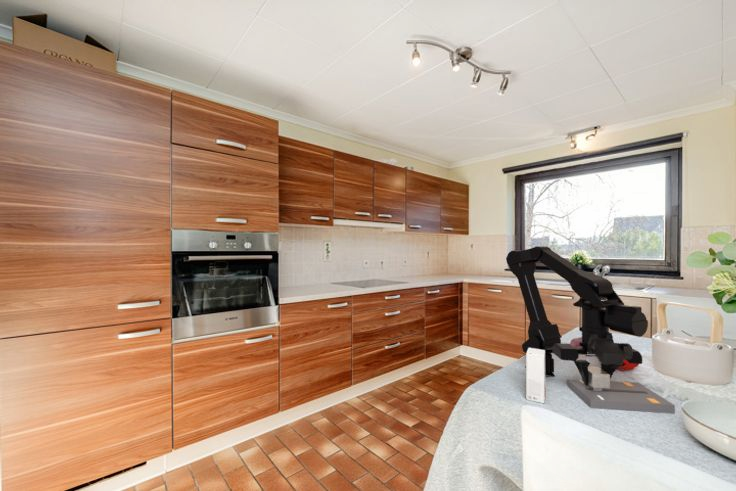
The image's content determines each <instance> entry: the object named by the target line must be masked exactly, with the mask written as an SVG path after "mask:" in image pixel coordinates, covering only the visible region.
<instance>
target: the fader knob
mask: <svg viewBox="0 0 736 491" xmlns="http://www.w3.org/2000/svg"><path fill="white" fill-rule="evenodd" d="M588 378H589V383H588V384H589V387H590V388H591V389H592V390H593V391H602V388H610V381H611V379H610V374H608V373H607V372H605V371H604V370H602V369H601V367H600V366H592V365H591V366H590V365H589V366H588Z"/></svg>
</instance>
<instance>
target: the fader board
mask: <svg viewBox="0 0 736 491" xmlns="http://www.w3.org/2000/svg"><path fill="white" fill-rule="evenodd" d="M566 386H567V387H568V388H569V389H570V391H572V392H573V393H574V394H575V395H576V396H577V397H579V399H580V400H582V402H584V404H586V405H587V406H588V407H589V408H590V409H600V410H601V409H603V410H615V411H616V410H617V411H627V412H628V411H630V412H644V413H646V412H647V413H660V414H661V413H662V414H673V415H674V414H675V412H676V410H675V409H676V406H675V404H673V403H672V402H670V401H669V400H667V399H665V398H664V397H663V396H661V395H659V394H658V393H656V392H654V391H653V390H652V389H650V388H649V387H647V386H645V385H643V384H642V383H639V382H632V381H616V380H615V381H612V380H610V388H602V391H593V390H592V389H591V388H590V387H589V384H588V386H586V385H585V384H584V382H583V379H575V378H566Z"/></svg>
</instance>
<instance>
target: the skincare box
mask: <svg viewBox="0 0 736 491" xmlns="http://www.w3.org/2000/svg"><path fill="white" fill-rule="evenodd" d="M525 366H526V368H525V380H526V381H525V383H526V384H525V385H526V386H525V387H526V389H525V395H526V396H525V399H526V400H527V401H531V402H536V403H539V404H545V403H546V402H545V401H546V400H545V399H546V398H545V397H546V376H545V350H541V349H535V348H528V350H527V353H525Z"/></svg>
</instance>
